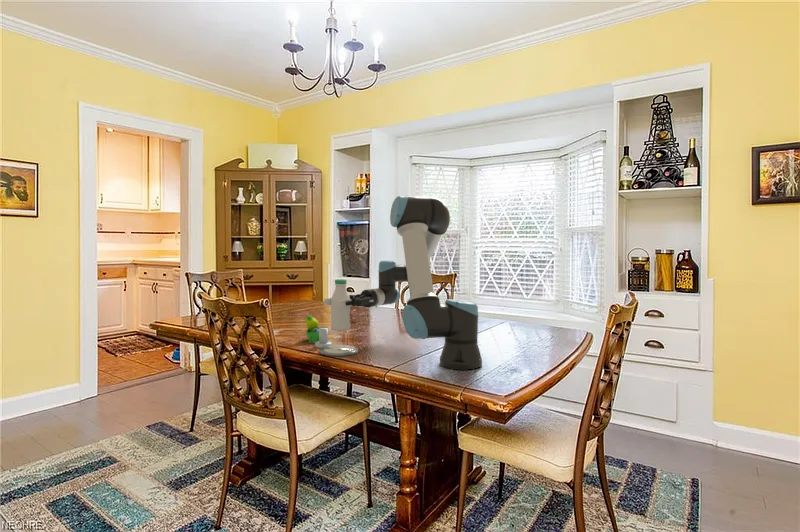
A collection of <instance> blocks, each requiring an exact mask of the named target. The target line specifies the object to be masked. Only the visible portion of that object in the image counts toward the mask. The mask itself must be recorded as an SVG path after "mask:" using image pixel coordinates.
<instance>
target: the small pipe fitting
mask: <svg viewBox="0 0 800 532" xmlns="http://www.w3.org/2000/svg"><path fill="white" fill-rule="evenodd" d="M328 339H329V329H328V328H319V341H318V342H315V343H314V347H315V348H316V347H317V348H316V349H321V348H323V347H327V346H331V345H333V342H332V341H330V340H328Z"/></svg>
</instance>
